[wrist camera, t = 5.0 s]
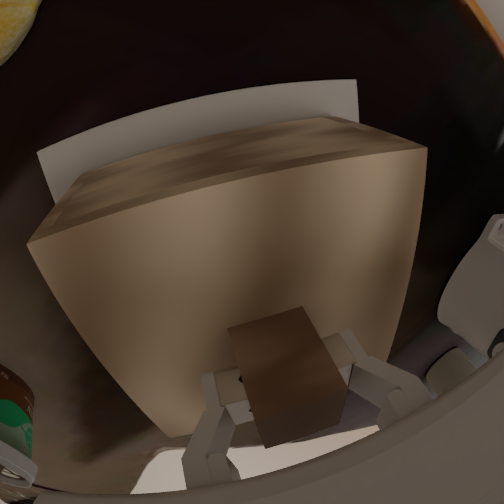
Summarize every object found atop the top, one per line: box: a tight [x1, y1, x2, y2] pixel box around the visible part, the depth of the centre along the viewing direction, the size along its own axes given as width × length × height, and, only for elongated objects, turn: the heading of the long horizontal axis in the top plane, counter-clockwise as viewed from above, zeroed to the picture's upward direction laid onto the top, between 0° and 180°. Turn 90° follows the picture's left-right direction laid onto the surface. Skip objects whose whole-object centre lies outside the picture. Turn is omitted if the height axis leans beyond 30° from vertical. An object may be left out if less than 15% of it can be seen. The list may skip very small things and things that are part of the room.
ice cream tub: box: [0, 364, 38, 487], centre depth 17 cm, size 12×6×10 cm, turn 160°
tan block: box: [26, 116, 427, 449], centre depth 13 cm, size 14×14×11 cm
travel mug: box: [426, 348, 477, 397], centre depth 35 cm, size 8×8×18 cm
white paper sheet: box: [37, 79, 359, 204], centre depth 18 cm, size 18×18×1 cm
